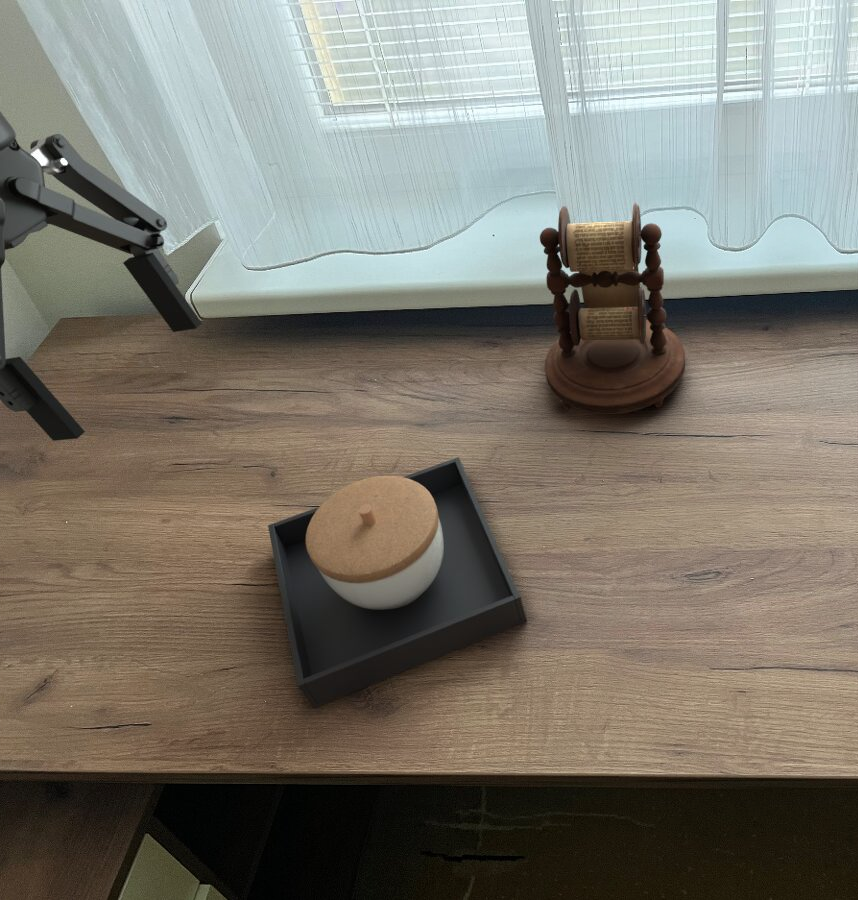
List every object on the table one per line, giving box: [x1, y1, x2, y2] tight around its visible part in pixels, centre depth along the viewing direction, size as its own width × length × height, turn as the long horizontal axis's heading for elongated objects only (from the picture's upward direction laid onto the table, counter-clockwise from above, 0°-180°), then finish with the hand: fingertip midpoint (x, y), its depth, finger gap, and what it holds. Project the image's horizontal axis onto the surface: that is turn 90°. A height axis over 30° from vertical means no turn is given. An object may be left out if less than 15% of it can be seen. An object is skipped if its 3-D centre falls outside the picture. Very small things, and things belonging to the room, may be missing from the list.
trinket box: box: [306, 475, 444, 610], centre depth 73 cm, size 11×11×9 cm
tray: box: [267, 456, 528, 709], centre depth 75 cm, size 18×18×3 cm
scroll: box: [539, 202, 686, 415], centre depth 86 cm, size 15×15×20 cm
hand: (132, 378), depth 67 cm, fingers open, 13 cm apart
